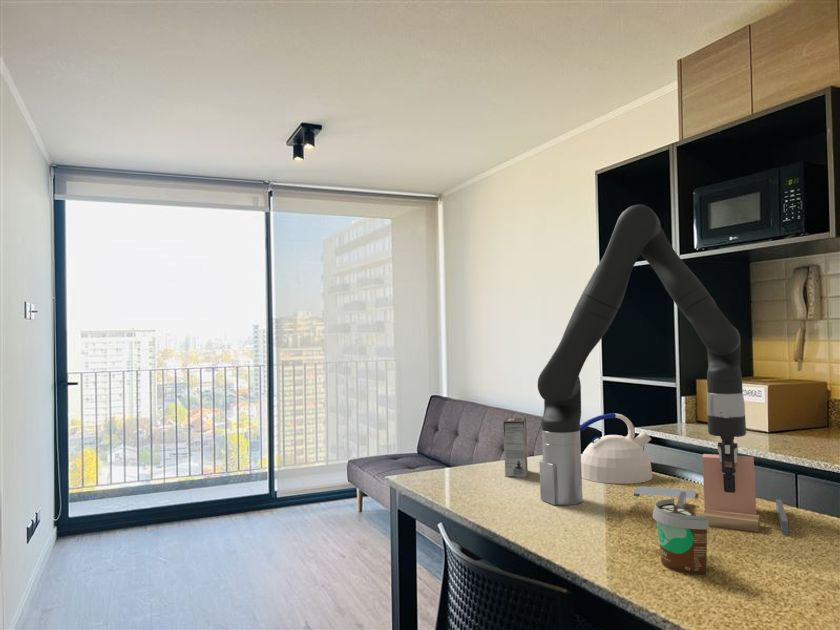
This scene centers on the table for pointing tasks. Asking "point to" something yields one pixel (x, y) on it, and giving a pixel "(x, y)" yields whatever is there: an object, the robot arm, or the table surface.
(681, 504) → the rack
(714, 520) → the offcut top
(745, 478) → the tall sheet
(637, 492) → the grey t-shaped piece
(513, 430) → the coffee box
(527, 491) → the table surface
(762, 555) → the table surface
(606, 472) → the kettle
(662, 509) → the food container
